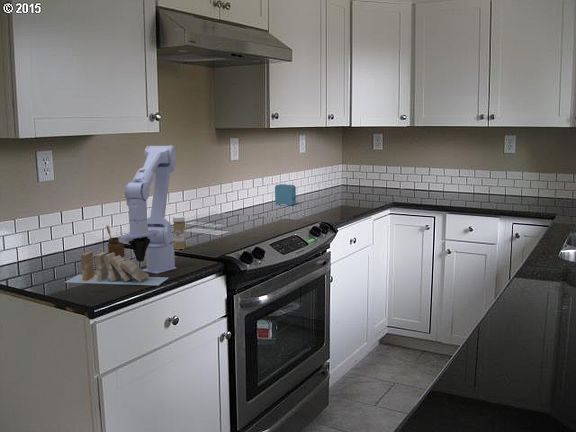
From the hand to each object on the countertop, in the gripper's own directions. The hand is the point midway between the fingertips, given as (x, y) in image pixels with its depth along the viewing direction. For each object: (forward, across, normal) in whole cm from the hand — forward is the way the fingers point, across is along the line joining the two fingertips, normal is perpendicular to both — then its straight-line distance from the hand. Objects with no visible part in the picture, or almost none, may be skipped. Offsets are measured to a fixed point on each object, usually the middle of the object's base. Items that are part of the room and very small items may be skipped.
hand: (140, 261), depth 206 cm
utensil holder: (+7, -19, -39) cm, 44 cm away
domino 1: (+6, +9, -16) cm, 19 cm away
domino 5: (+6, -1, +1) cm, 6 cm away
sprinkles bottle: (+7, -42, -29) cm, 51 cm away
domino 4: (+6, +2, -3) cm, 7 cm away
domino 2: (+6, +6, -12) cm, 15 cm away
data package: (+7, -166, -73) cm, 181 cm away
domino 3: (+6, +4, -7) cm, 10 cm away
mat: (+7, +4, -7) cm, 11 cm away
